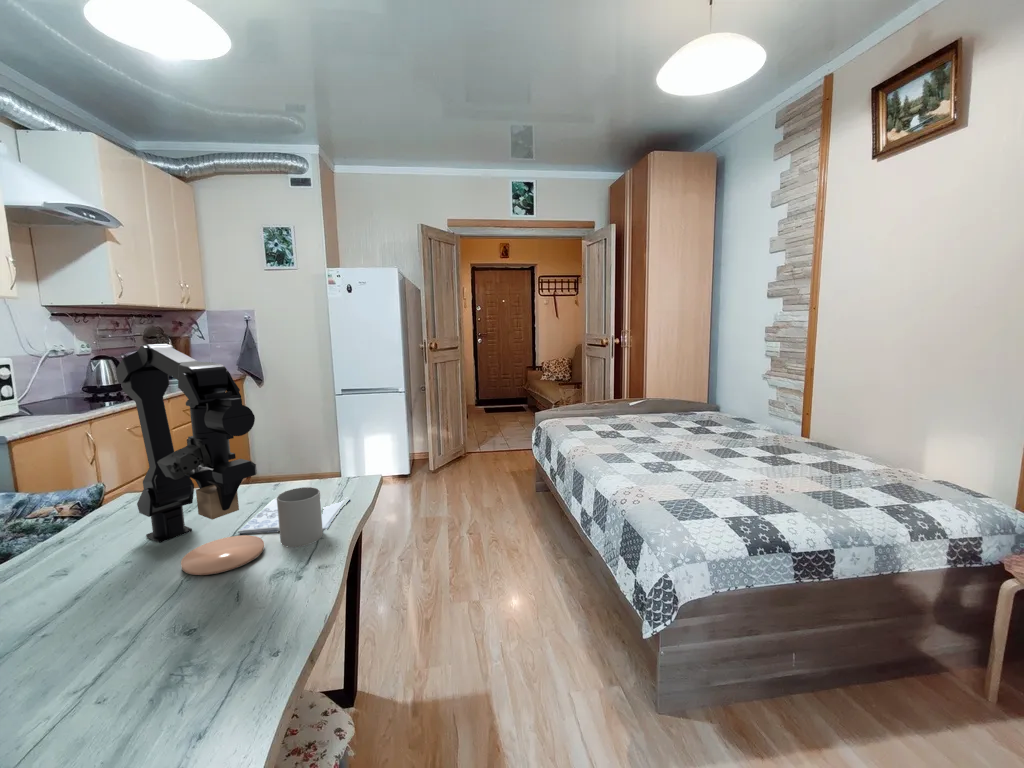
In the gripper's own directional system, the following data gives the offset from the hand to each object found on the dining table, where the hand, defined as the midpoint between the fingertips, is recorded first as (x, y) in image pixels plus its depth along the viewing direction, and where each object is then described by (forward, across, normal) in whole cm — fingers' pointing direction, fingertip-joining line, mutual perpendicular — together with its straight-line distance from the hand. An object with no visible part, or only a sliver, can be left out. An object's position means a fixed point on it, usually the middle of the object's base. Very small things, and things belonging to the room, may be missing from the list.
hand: (218, 507), depth 88 cm
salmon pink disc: (+11, 0, 0) cm, 11 cm away
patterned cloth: (+12, -5, +20) cm, 24 cm away
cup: (+11, +6, +13) cm, 18 cm away
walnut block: (+1, 0, 0) cm, 1 cm away
